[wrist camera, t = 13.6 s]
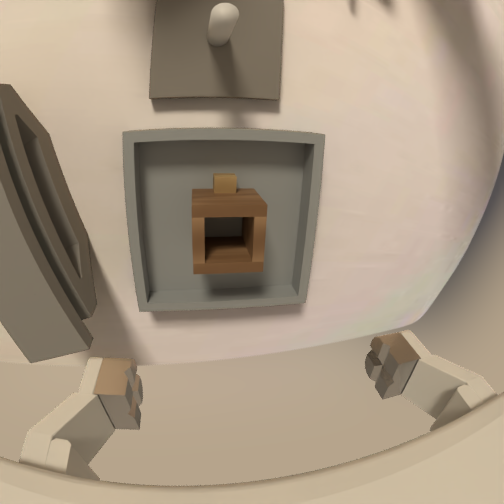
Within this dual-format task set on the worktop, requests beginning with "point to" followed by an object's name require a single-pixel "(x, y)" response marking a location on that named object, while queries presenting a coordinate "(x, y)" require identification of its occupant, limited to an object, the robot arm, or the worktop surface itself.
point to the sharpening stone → (40, 242)
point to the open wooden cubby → (234, 247)
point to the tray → (180, 217)
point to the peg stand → (216, 49)
